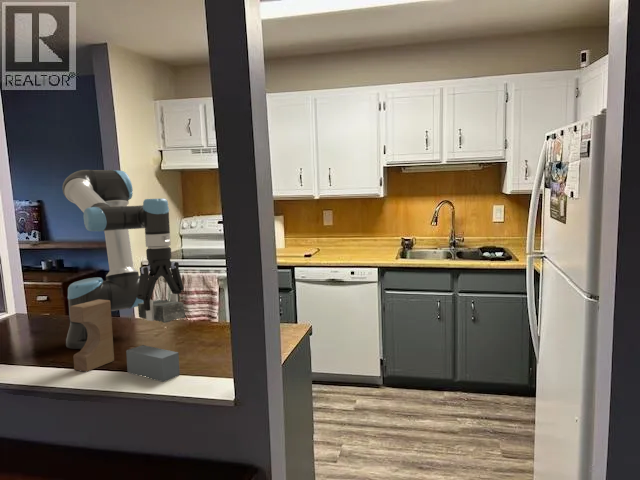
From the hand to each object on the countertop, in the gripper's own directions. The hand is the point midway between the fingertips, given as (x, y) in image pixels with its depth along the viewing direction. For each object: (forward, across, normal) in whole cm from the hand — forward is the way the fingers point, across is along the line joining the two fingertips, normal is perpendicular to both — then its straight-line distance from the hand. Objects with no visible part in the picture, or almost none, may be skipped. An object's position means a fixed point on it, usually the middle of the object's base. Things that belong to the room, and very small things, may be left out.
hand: (162, 316), depth 157 cm
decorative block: (+14, -14, +16) cm, 26 cm away
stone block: (+1, 0, 0) cm, 1 cm away
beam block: (+14, -11, -7) cm, 19 cm away
